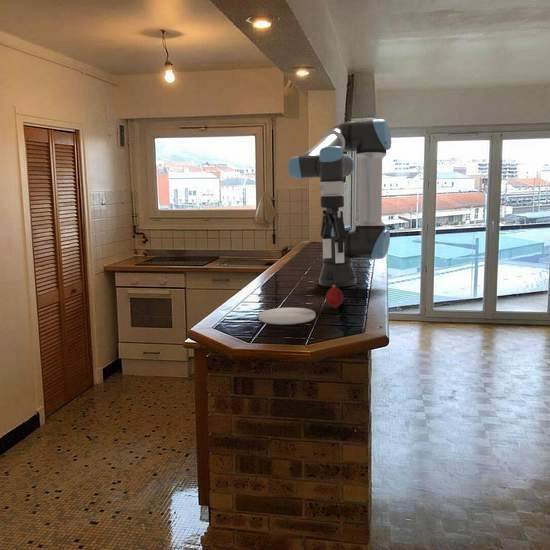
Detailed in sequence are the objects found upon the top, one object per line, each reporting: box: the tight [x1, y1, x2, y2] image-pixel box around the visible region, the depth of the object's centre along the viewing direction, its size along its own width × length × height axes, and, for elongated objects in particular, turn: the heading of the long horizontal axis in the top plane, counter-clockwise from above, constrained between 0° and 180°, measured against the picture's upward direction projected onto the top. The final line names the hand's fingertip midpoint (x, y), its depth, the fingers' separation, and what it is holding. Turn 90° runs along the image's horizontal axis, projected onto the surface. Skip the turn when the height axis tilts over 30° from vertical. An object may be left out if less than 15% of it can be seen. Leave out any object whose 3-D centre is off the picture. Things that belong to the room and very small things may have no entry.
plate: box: [258, 307, 317, 325], centre depth 188 cm, size 18×18×1 cm
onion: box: [325, 285, 344, 309], centre depth 197 cm, size 6×6×8 cm
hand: (333, 260), depth 195 cm, fingers open, 13 cm apart
